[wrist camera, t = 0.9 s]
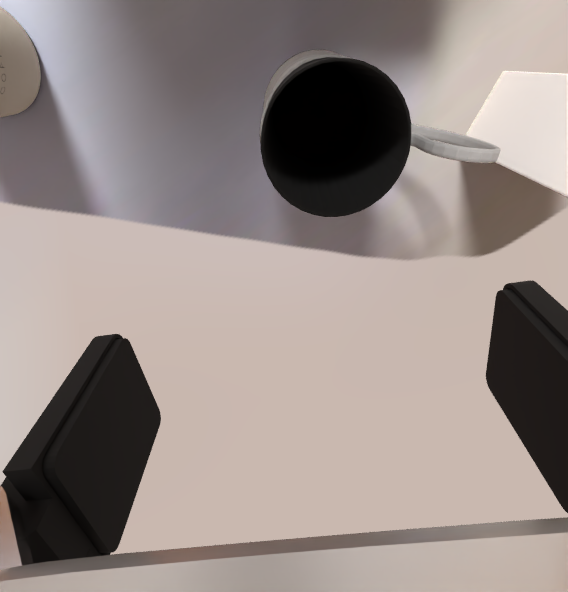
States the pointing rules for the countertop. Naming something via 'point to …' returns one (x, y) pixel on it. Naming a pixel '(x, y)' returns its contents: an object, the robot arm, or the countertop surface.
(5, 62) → the travel mug
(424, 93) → the countertop surface
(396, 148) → the glass holder
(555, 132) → the milk
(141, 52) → the countertop surface
